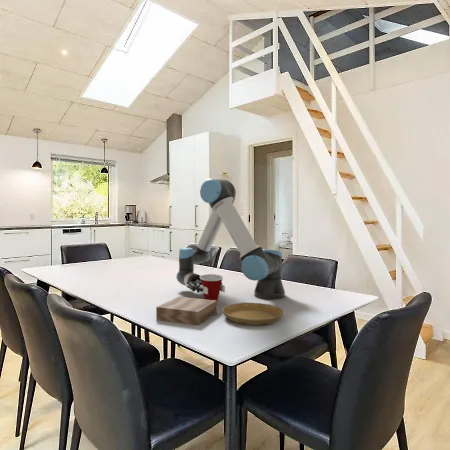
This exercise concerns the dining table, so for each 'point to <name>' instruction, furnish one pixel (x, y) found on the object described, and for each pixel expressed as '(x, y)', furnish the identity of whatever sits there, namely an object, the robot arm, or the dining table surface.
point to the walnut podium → (186, 310)
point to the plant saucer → (252, 313)
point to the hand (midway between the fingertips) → (215, 290)
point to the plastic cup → (211, 285)
